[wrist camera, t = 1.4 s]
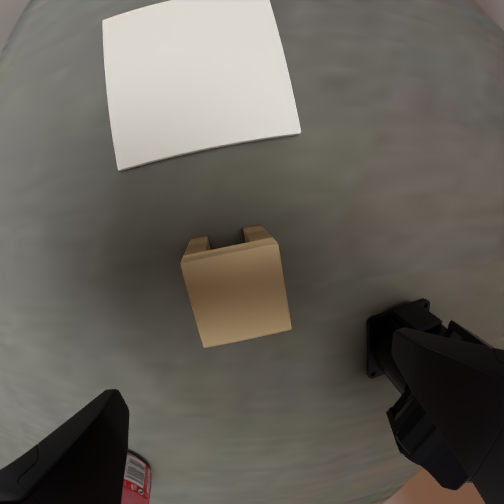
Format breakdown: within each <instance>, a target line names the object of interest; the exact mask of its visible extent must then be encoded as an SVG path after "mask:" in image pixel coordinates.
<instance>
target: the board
mask: <svg viewBox="0 0 504 504" xmlns="http://www.w3.org/2000/svg"><path fill="white" fill-rule="evenodd" d="M103 48H104V65H105V78H106V89H107V99H108V108H109V116H110V123H111V130H112V137H113V144H114V150H115V156H116V162H117V167H118V170H120V171H123V170H127V169H130V168H134V167H138V166H141V165H145V164H149V163H153V162H157V161H160V160H165V159H169V158H173V157H177V156H181V155H186V154H190V153H195V152H199V151H204V150H209V149H214V148H219V147H224V146H230V145H235V144H241V143H247V142H253V141H259V140H265V139H272V138H279V137H286V136H294V135H298V134H300V133H301V129H300V124H299V119H298V114H297V109H296V104H295V100H294V95H293V90H292V86H291V82H290V77H289V73H288V69H287V64H286V60H285V56H284V52H283V48H282V44H281V40H280V37H279V33H278V29H277V25H276V22H275V18H274V14H273V11H272V7H271V4H270V1H269V0H171V1H167V2H162V3H158V4H154V5H150V6H146V7H143V8H139V9H136V10H132V11H129V12H126V13H123V14H120V15H117V16H114V17H111V18H108V19H105V20H103Z"/></svg>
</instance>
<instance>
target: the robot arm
mask: <svg viewBox="0 0 504 504" xmlns="http://www.w3.org/2000/svg"><path fill="white" fill-rule="evenodd" d="M424 304H425V305H424ZM429 308H430V302H429V301H428V300H426V299H422V300H420V301H417V302H412V303H409V304H406V305H403V306H400V307H397V308H394V309H392V310H391V311H388V312H385V313H382V314H379V315H376V316H373V317H371V318H369V320H368V322H367V376H368V377H369V378H374V377H377V376H380V375H382V374H385V375H386V376H387V377H388V378H389V380H390V381H391V382H392V383H393V384H394V386H395V387H396V388H397V389H398V391H399V392H400V393H401V394H402V396H401V397H400V398H399V399H398V401H397V402H396V403H395V404H394V406H393V407H391V408H390V409H389V410H388V411H387V412H386V413H387V416H388V419H389V422H390V425H391V428H392V431H393V434H394V438H395V441H396V444H397V446H398V449H399V451H400V452H401V453H402V454H404V456H405V457H406V458H408V459H409V460H411V461H412V462H414V463H416V464H418V465H421V466H422V467H423V468H424V469H426V470H427V471H428V472H429V473H430V474H431V475H432V476H433V477H434V478H435V479H436V480H437V482H438V483H439V484H440V485H441V486H442V487H444V488H448V489H451V490H458V489H459V488H460V487H461V486H462V485H463V484H465V483H466V482H468V483H473V484H474V485H475V487H476V489H477V490H478V492H479V494H480V495H481V497H482V498H483V500H484V502H485V504H504V350H501V349H496V348H494V347H492V346H491V345H489V344H488V343H487V342H485V341H484V340H482V339H481V338H479V337H478V336H476V335H475V334H473V333H472V332H470V331H468V330H467V329H465V328H464V327H462V326H460V325H459V324H457V323H456V322H454V321H452V320H451V321H450V323H449V325H448V329H447V328H446V327H444V326H443V325H442V321H441V320H440V319H439V318H437V317H436V316H435V315H433V314H432V313H430V312H429ZM374 321H375V323H374V324H372V323H373V322H374ZM372 372H373V373H372ZM371 373H372V374H371ZM128 430H129V409H128V407H127V405H126V403H125V401H124V399H123V397H122V395H121V393H120V392H119V391H118V390H117V389H108V390H105V391H104V392H103V393H101V394H100V395H99V396H98V397H96V398H95V399H94V400H93V401H91V402H90V403H89V404H88V405H86V406H85V407H84V408H82V409H81V410H80V411H79V412H77V413H76V414H75V415H74V416H72V417H71V418H70V419H69V420H67V421H66V422H65V423H64V424H62V425H61V426H60V427H58V428H57V429H56V430H55V431H53V432H52V433H51V434H50V435H48V436H47V437H46V438H44V439H43V440H42V441H41V442H39V443H38V445H35V446H34V447H33V448H32V449H30V450H29V451H28V452H26V453H25V454H24V455H22V456H21V457H19V458H18V459H16V460H15V461H13V462H12V463H10V464H9V465H7V466H6V467H4V468H2V469H1V470H0V504H121V500H122V491H123V483H124V475H125V467H126V460H127V452H128Z"/></svg>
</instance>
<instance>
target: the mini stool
mask: <svg viewBox="0 0 504 504" xmlns="http://www.w3.org/2000/svg"><path fill="white" fill-rule="evenodd" d="M243 232H244V237H245V242H246V243H242V244H237V245H233V246H228V247H223V248H218V249H213V250H211V249H210V244H209V240H208V236H203V237H198V238H194V239H190V241H189V243H188V246H187V248H186V251H185V253H184V255H183V258H182V260H181V263H180V265H181V269H182V273H183V277H184V281H185V284H186V288H187V292H188V295H189V299H190V303H191V306H192V310H193V313H194V317H195V320H196V324H197V327H198V330H199V334H200V337H201V340H202V344H203V347H204V348H206V347H212V346H217V345H222V344H228V343H233V342H237V341H242V340H247V339H252V338H256V337H261V336H265V335H270V334H274V333H278V332H283V331H287V330H291V322H290V315H289V308H288V302H287V295H286V289H285V283H284V276H283V270H282V264H281V258H280V251H279V245H278V243H277V241H276V240H275V239H274V238H273V237H272V236H271V235H270V234H269V233H268V232H267V231H266V230H265V229H264V228H263V227H262V226H261V225H256V226H251V227H246V228H243Z"/></svg>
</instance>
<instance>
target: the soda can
mask: <svg viewBox="0 0 504 504" xmlns="http://www.w3.org/2000/svg"><path fill="white" fill-rule="evenodd" d="M150 491H151V470H150V468H149V467H148V466H147V465H146V464H145V463H144V462H143V461H141V460H140V459H139V458H137V457H136V456H134V455H132V454H130V453H128V452H127V460H126V467H125V475H124V483H123V491H122V500H121V504H149V500H150Z"/></svg>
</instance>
